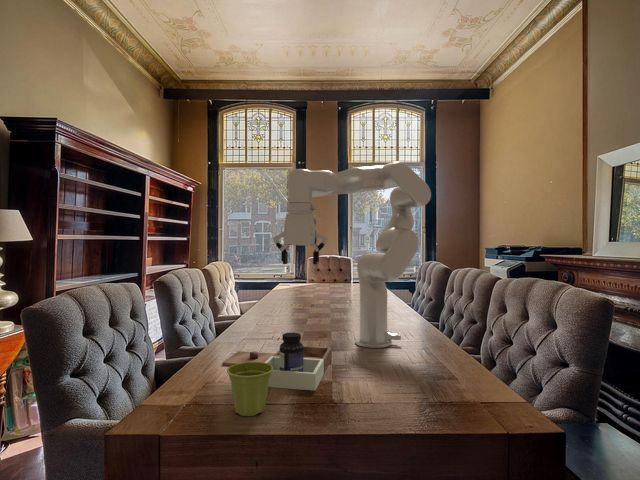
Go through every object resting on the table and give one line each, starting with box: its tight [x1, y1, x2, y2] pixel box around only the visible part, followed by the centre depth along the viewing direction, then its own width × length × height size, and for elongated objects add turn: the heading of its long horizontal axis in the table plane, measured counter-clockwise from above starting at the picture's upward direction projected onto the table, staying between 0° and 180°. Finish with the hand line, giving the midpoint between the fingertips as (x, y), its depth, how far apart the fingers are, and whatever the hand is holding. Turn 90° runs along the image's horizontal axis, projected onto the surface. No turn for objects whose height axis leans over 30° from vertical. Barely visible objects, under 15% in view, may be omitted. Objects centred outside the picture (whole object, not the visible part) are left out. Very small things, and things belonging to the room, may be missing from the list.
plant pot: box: [226, 362, 273, 417], centre depth 78 cm, size 9×9×9 cm
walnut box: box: [273, 345, 332, 373], centre depth 108 cm, size 15×12×4 cm
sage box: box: [265, 356, 325, 392], centre depth 95 cm, size 15×12×4 cm
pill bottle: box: [279, 331, 304, 372], centre depth 96 cm, size 6×6×11 cm
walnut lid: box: [221, 350, 277, 367], centre depth 111 cm, size 15×12×2 cm
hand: (300, 264), depth 117 cm, fingers open, 9 cm apart
